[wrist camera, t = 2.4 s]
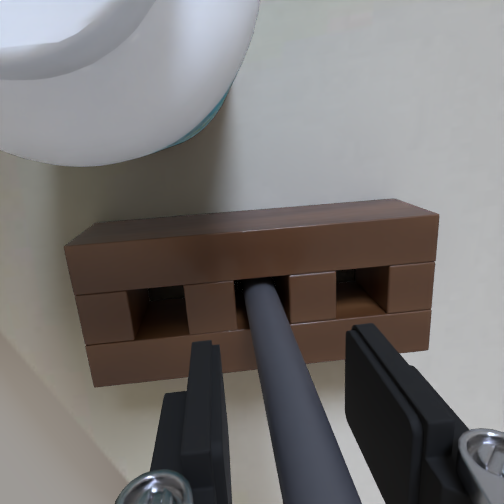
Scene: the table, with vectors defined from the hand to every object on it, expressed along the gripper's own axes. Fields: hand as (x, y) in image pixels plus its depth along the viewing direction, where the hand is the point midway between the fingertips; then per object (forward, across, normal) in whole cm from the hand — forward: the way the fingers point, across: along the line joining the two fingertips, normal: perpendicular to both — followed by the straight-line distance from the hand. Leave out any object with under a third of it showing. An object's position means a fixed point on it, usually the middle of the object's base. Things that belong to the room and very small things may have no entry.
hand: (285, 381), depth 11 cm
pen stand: (+9, 0, 0) cm, 9 cm away
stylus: (+9, 0, 0) cm, 9 cm away
